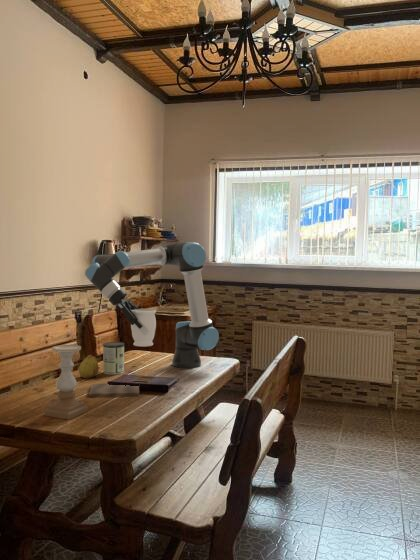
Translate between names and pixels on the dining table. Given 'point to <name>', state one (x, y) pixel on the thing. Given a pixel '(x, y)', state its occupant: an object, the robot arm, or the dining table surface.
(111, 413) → the dining table surface
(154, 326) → the jar
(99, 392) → the walnut board
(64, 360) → the candle holder
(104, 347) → the coffee can
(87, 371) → the fruit
